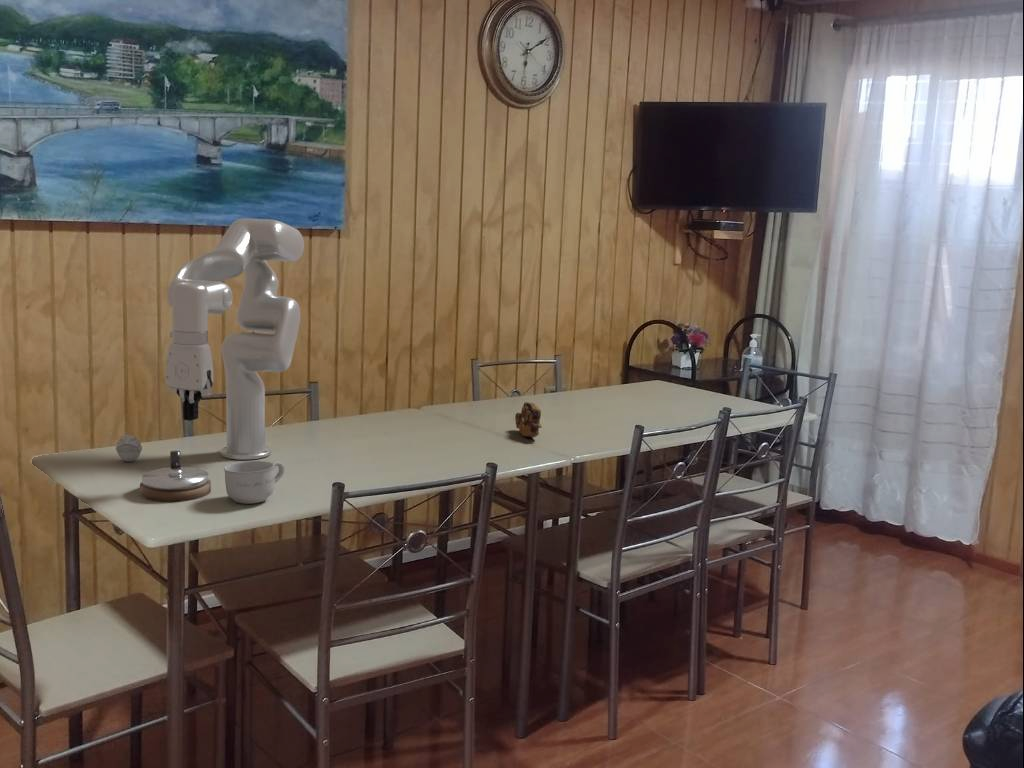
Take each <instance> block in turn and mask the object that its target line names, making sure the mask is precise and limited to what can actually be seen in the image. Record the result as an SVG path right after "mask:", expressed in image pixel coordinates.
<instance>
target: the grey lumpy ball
mask: <svg viewBox="0 0 1024 768" xmlns="http://www.w3.org/2000/svg"><path fill="white" fill-rule="evenodd" d="M142 450H143V446H142V444H141V441H140V439H138V438H137V437H136V436H134V435H132V434H125V435H124V436H120V437H119V439H118V440H117V443H116V446H115V451H116V452H117V454H118V457H120V459H121V460H122V461H124V462H129V463H130V462H134V461H136V460H138V458H139V457H140V455H141V452H142Z"/></svg>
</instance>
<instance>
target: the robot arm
mask: <svg viewBox="0 0 1024 768" xmlns="http://www.w3.org/2000/svg"><path fill="white" fill-rule="evenodd" d="M304 250H305V240H304V237H303V235H302V233H301V232H300V230H298V229H297V228H295V227H293V226H291V225H289V224H287V223H284V221H283V222H282V221H280V220H276V219H269V218H268V219H267V218H266V219H263V218H244V217H243V218H238V219H236V220H234V221H232V222H231V224H230V225H229V227H228V228H227V229H226V231H225V233H224V234H223V236H222V237H221V239H220V240H219V242H218V243H217V245H216V246H215V247H214V249H213V250H210V251H207V252H206V253H203V254H201V255H199V256H198V257H197V256H196V258H193V259H191V260H190V261H188V262H186V263H185V264H183V265H182V266H181V267H180V269H178V271H177V272H176V273H175V275H174V276H173V278H172V280H171V281H170V284H169V285H168V288H167V295H166V296H167V303H168V305H169V306H170V307H171V309H172V310H171V311H172V313H171V314H172V331H170V332H169V337H170V338H172V342H171V343H169V347H168V351H167V354H166V355H167V356H166V363H165V364H166V365H165V385H166V386H167V387H168V388H169V391H170V392H173V393H174V394H177V396H178V397H179V400H180V402H181V403H182V414H183V415H182V419H183V420H184V421H189V422H192V421H194V420H197V419H199V402H201V401H202V399H203V397H207V396H212V393H213V392H212V388H213V386H214V363H213V362H214V361H213V354H212V349H211V346H210V345H209V315H220V314H224V313H226V312H227V311H228V310H229V309H230V308H231V306H232V304H233V300H234V295H233V291H232V289H231V288H230V287H229V285H228V284H226V283H224V282H222V281H225V280H226V281H227V280H230V279H232V278H236V277H239V276H241V275H242V274H243V273H244V274H245V276H244V278H245V280H244V285H243V290H242V293H241V297H240V301H239V305H238V309H237V315H236V321H237V324H238V326H239V327H240V328H241V329H243V330H245V331H249V332H245V331H241V332H240V331H239V332H234V333H230V334H228V335H227V336H226V337H225V338H224V340H223V342H222V345H221V356H222V360H223V362H222V363H223V366H224V367H223V368H224V373H225V387H226V388H225V391H226V393H225V394H226V397H225V398H226V399H225V400H226V407H225V409H226V414H225V415H226V446H225V447H222V448H221V449H220V456H221V457H223V458H227V459H229V460H230V459H231V460H241V461H243V460H244V461H245V460H246V461H250V460H257V459H262V458H266V457H269V456H270V455H271V453H272V449H271V448H270V447H269V446H267V445H266V443H265V442H266V428H265V426H266V423H265V422H266V420H265V419H266V417H265V416H266V411H265V410H266V409H265V408H266V403H265V402H266V399H265V397H266V389H265V388H266V387H265V385H264V381H263V380H262V378H261V376H260V375H259V373H258V372H268V373H269V372H270V373H283V372H285V371H287V370H288V369H289V367H290V366H291V363H292V360H293V356H294V353H295V349H296V348H295V347H296V343H297V338H298V334H299V330H300V323H301V308H300V305H299V303H298V302H297V301H296V300H295V298H292V297H290V296H289V297H288V296H283V295H282V296H281V295H277V294H278V289H279V284H280V283H279V279H278V276H277V275H276V273H275V272H274V270H273V268H271V266H270V265H269V263H268V261H273V262H289V263H290V262H297V261H298V260H300V258H301V257H302V256H303V254H304ZM269 333H270V334H269Z"/></svg>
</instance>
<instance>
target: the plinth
mask: <svg viewBox="0 0 1024 768" xmlns="http://www.w3.org/2000/svg"><path fill="white" fill-rule="evenodd" d="M211 483H212V481H211V479H210V478H208V483H207V484H205V485H203V486H201V487H198V488H194V489H188V490H180V491H160V490H153V489H149V488H146V487H144V486H143V485H142V481H141V482H140V484H139V495H140V497H142V498H143V499H145V500H149V501H154V502H162V503H167V502H168V503H174V502H186V501H187V502H188V501H192V500H197V499H200V498H203V497H206V496H208V495H209V494H210V493H211V491H212V489H211V488H212V487H211V486H212V485H211Z"/></svg>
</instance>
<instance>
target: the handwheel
mask: <svg viewBox="0 0 1024 768" xmlns="http://www.w3.org/2000/svg"><path fill="white" fill-rule="evenodd" d="M169 455H170V456H169V459H170V461H169V463H170V466H169V467H162V468H158V469H154V470H150V471H147V472H145V473H143V475H141V482H142V485H143V486H144V487H146V488H149V489H153V490H160V491H180V490H188V489H194V488H198V487H201V486H203V485H205V484H207V483H208V479H209V472H207V471H206V470H205V469H202V468H198V467H190V466H189V467H188V466H181V463H182V462H181V461H182V460H181V451H180V450H172V451H170V452H169Z"/></svg>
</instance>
